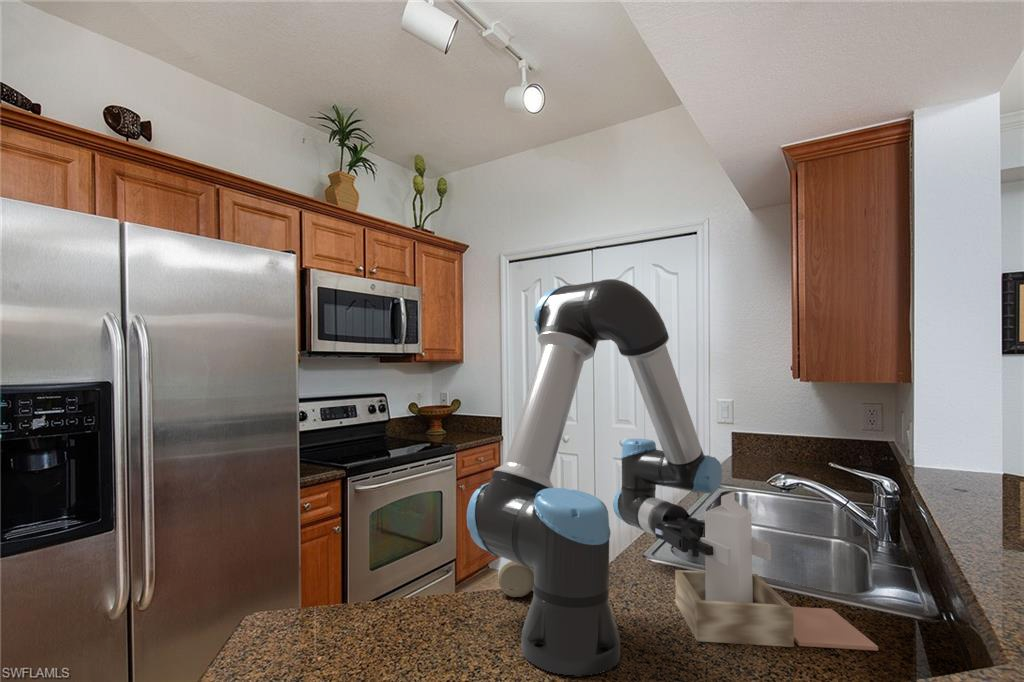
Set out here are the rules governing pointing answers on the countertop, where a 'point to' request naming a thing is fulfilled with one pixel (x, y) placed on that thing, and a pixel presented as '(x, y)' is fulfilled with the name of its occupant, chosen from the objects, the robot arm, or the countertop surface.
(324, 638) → the countertop surface
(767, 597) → the holder
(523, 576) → the ceramic mug
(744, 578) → the milk
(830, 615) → the mat
